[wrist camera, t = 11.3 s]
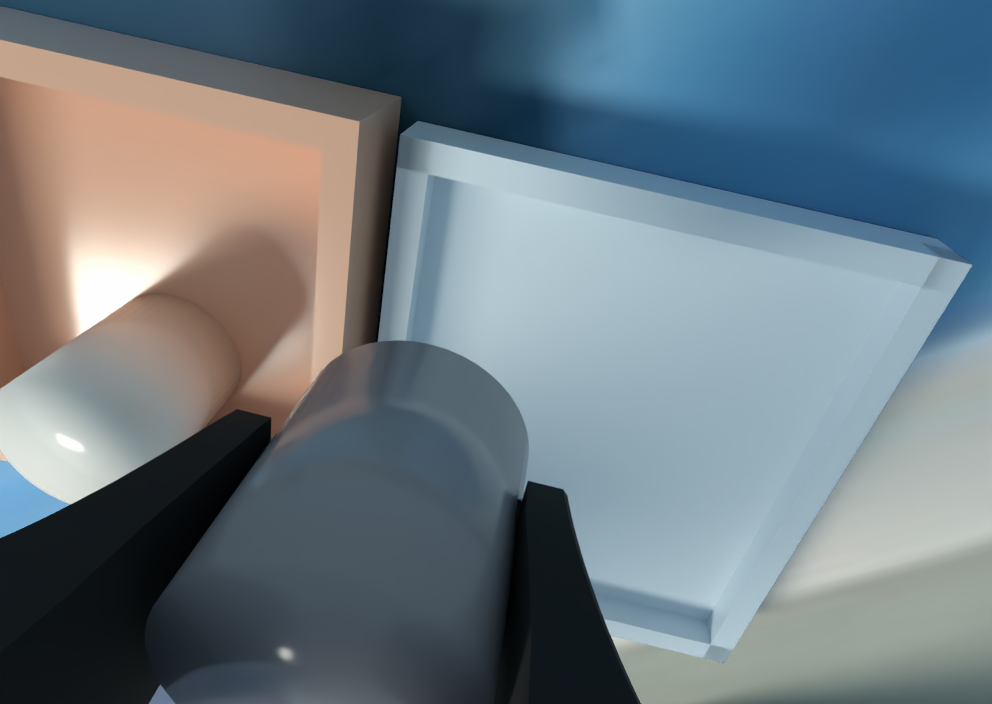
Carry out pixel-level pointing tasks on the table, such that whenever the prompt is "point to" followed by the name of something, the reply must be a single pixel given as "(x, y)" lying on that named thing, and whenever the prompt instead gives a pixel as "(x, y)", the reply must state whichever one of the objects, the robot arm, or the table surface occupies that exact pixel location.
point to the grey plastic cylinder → (358, 546)
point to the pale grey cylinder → (117, 396)
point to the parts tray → (661, 357)
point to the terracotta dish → (188, 200)
